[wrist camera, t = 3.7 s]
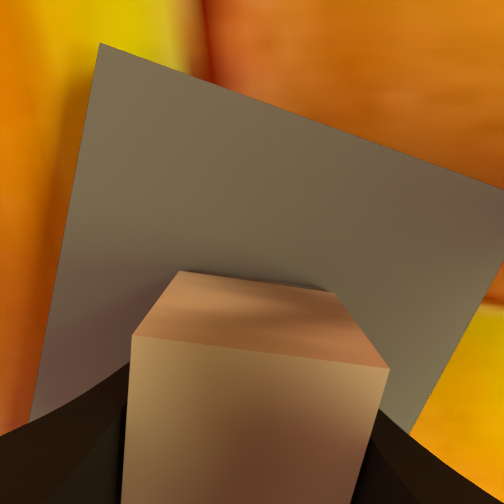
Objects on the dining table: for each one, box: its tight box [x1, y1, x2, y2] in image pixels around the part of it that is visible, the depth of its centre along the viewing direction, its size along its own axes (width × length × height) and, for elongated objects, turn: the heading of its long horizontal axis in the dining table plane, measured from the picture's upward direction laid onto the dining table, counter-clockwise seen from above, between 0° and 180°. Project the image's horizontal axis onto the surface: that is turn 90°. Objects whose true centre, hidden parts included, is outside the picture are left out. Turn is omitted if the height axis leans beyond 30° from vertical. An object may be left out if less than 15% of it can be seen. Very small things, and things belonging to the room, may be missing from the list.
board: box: [29, 43, 504, 435], centre depth 12 cm, size 14×20×2 cm
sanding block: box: [121, 270, 390, 504], centre depth 9 cm, size 5×7×4 cm
